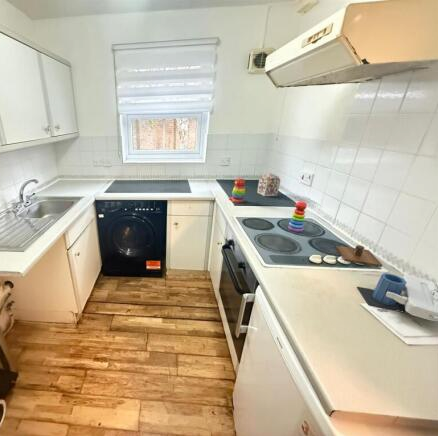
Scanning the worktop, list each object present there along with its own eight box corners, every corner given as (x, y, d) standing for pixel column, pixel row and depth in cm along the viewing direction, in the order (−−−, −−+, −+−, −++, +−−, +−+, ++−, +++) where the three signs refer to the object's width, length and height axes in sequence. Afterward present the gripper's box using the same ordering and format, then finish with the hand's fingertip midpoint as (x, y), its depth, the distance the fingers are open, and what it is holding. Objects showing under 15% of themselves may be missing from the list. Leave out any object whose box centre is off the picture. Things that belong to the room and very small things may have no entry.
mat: (396, 295, 87) (397, 294, 87) (413, 314, 78) (414, 313, 78) (356, 287, 91) (357, 286, 90) (368, 305, 82) (368, 304, 82)
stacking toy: (286, 228, 139) (294, 198, 132) (302, 231, 135) (311, 200, 128) (285, 233, 133) (293, 202, 125) (302, 237, 129) (311, 204, 122)
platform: (366, 255, 112) (371, 242, 109) (379, 270, 100) (386, 256, 98) (333, 250, 116) (338, 237, 113) (343, 264, 105) (348, 251, 102)
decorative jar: (277, 196, 196) (282, 174, 189) (264, 196, 194) (268, 175, 187) (268, 192, 207) (273, 171, 200) (256, 192, 205) (260, 172, 198)
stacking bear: (227, 198, 190) (231, 176, 183) (239, 198, 191) (243, 176, 184) (234, 203, 180) (237, 180, 173) (246, 202, 181) (250, 179, 174)
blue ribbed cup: (389, 295, 86) (400, 275, 82) (399, 307, 80) (410, 286, 77) (369, 291, 88) (378, 271, 84) (377, 303, 82) (387, 282, 79)
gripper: (448, 333, 68) (383, 309, 77) (434, 295, 83) (381, 279, 91) (459, 316, 66) (391, 294, 74) (443, 281, 80) (387, 265, 89)
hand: (385, 286), depth 83 cm, fingers open, 8 cm apart
